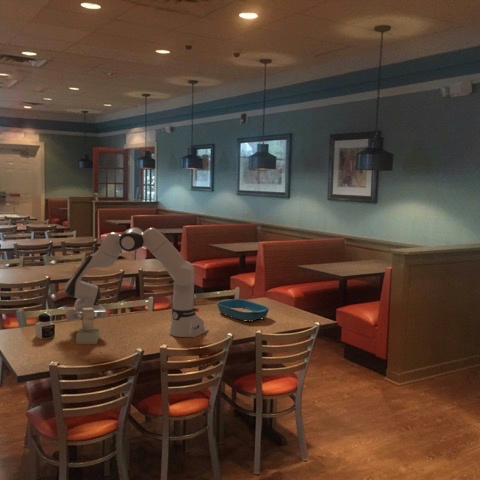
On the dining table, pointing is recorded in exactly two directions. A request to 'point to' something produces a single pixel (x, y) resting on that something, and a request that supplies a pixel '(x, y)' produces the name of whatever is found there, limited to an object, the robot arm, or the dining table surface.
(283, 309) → the dining table surface
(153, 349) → the dining table surface
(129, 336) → the dining table surface
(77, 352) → the dining table surface
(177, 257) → the robot arm
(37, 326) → the medicine bottle
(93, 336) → the riser block
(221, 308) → the casserole dish
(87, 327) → the ash block
